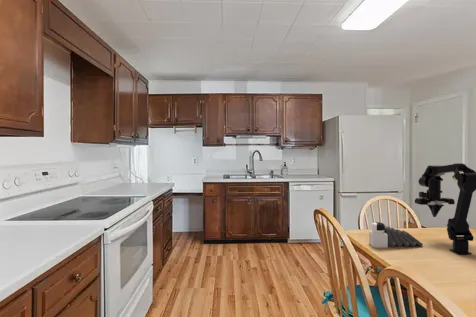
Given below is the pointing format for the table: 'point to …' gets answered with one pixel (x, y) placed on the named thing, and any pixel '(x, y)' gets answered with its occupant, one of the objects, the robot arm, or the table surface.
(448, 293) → the table surface
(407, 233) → the domino
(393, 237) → the domino
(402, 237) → the domino
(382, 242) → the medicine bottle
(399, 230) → the domino
